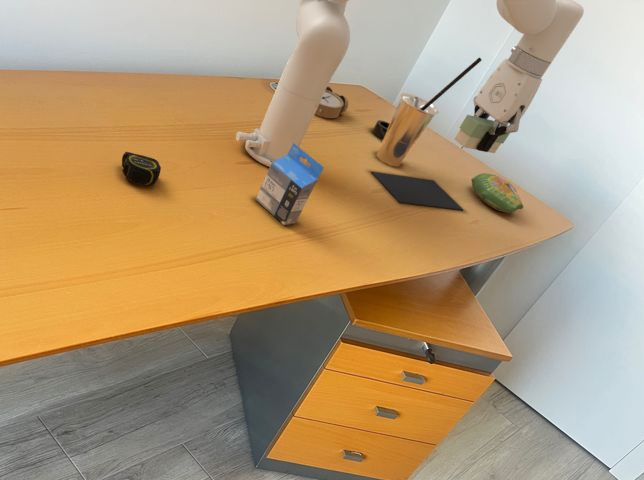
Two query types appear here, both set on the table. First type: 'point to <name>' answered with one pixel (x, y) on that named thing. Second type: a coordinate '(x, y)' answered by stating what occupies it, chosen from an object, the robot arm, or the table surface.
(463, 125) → the green and beige block
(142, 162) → the tape measure
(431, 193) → the desk mat
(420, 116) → the metal cup with straw
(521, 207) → the educational model
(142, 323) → the table surface
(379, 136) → the duct tape
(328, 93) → the alarm clock
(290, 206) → the ink cartridge box
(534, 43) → the robot arm
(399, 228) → the table surface
